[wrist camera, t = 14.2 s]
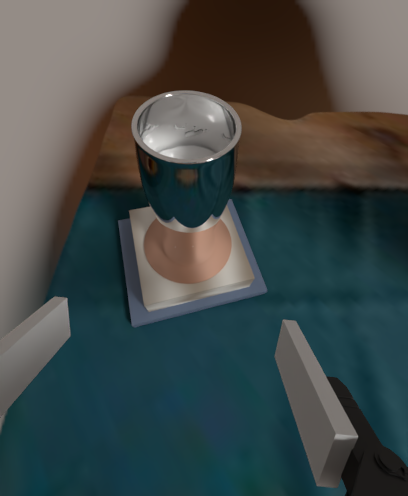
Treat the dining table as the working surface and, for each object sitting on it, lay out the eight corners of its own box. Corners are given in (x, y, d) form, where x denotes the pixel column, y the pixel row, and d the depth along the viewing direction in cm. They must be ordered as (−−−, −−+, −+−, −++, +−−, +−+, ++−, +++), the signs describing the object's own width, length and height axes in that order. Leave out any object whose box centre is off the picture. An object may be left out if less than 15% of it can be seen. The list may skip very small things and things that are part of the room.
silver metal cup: (153, 224, 29) (119, 95, 15) (209, 211, 30) (223, 82, 16) (166, 277, 26) (138, 176, 12) (227, 261, 27) (263, 153, 14)
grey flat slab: (230, 204, 36) (231, 199, 35) (264, 293, 30) (267, 290, 29) (120, 225, 33) (117, 220, 32) (134, 327, 27) (131, 325, 26)
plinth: (220, 207, 34) (222, 192, 31) (248, 286, 29) (255, 277, 26) (134, 223, 32) (128, 209, 29) (148, 312, 27) (143, 305, 24)
